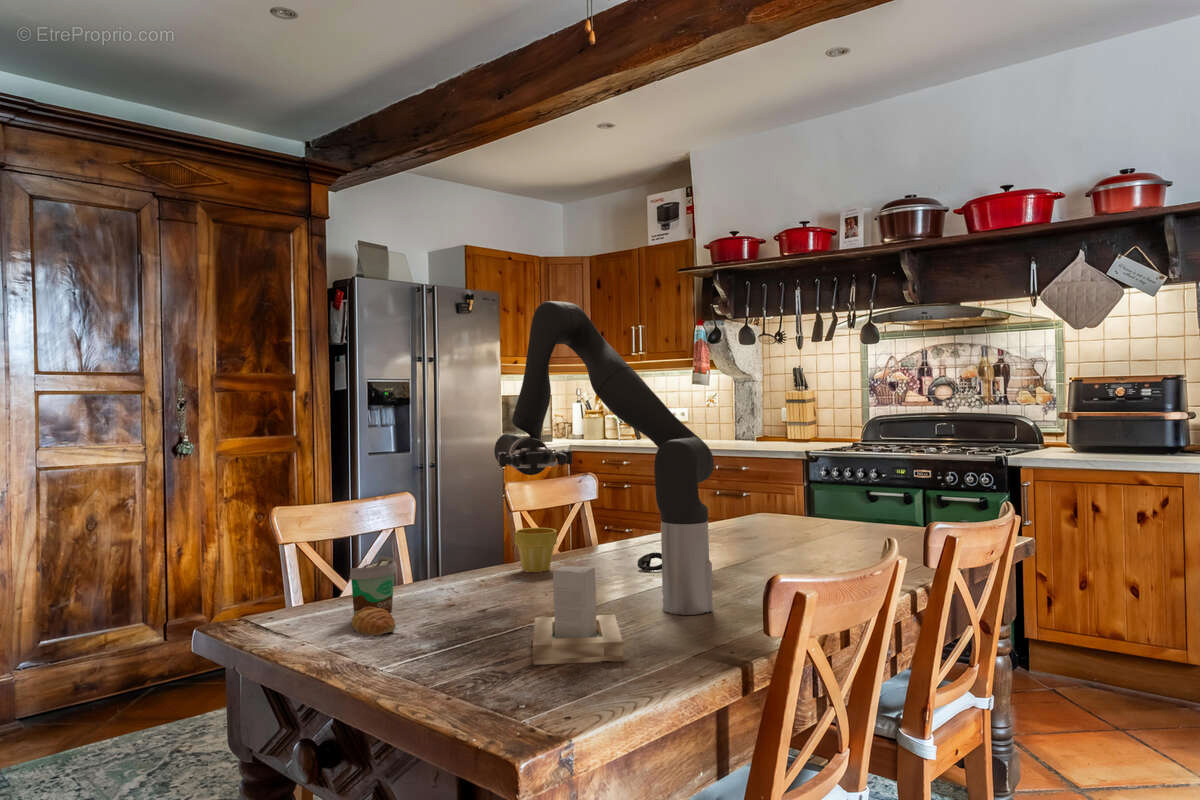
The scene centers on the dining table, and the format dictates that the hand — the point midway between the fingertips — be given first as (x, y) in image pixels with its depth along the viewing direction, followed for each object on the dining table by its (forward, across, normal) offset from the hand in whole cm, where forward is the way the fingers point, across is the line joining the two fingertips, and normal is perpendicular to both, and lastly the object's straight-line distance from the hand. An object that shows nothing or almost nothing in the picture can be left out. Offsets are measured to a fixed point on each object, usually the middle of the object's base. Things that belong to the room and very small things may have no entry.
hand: (540, 460), depth 146 cm
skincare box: (+18, +2, +29) cm, 34 cm away
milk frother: (-32, +36, +30) cm, 57 cm away
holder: (+18, +3, +30) cm, 35 cm away
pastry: (-4, -31, +30) cm, 43 cm away
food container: (-15, -30, +30) cm, 45 cm away
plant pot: (-46, +6, +30) cm, 55 cm away
